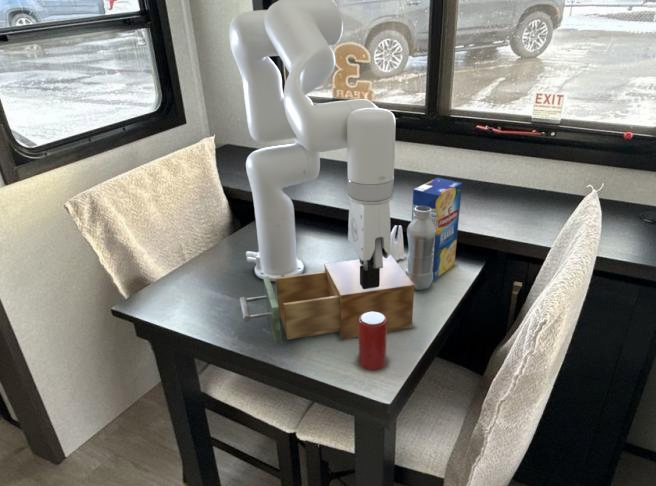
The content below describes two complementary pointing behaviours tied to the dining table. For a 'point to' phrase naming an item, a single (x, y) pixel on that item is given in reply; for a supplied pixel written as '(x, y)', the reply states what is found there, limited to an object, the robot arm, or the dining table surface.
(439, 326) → the dining table surface
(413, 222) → the silver bottle
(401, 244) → the shaker set
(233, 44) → the robot arm
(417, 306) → the dining table surface
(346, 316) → the cabinet
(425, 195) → the blue tall box
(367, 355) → the can
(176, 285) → the dining table surface
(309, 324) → the drawer
